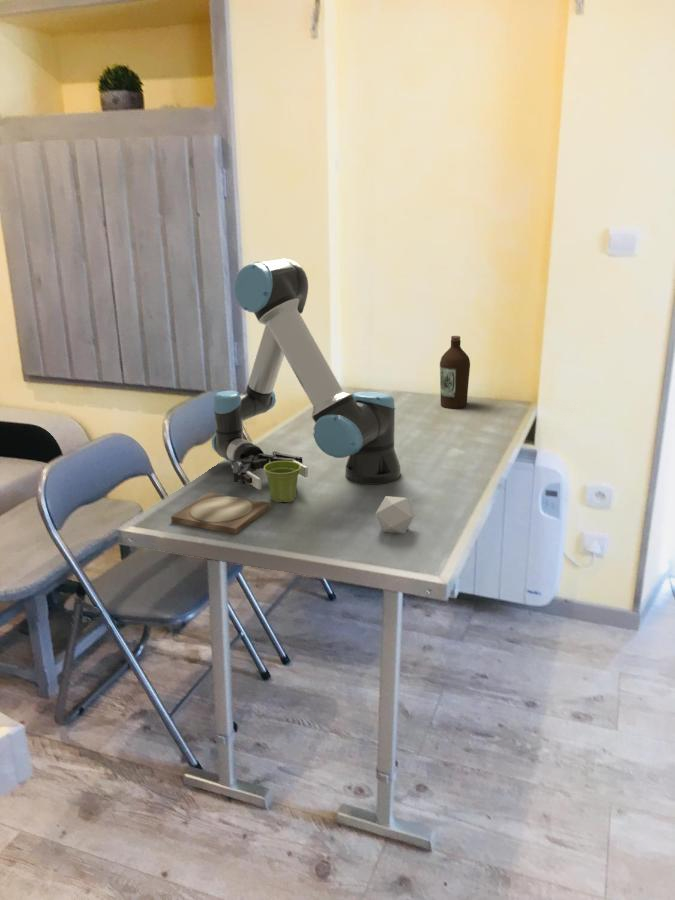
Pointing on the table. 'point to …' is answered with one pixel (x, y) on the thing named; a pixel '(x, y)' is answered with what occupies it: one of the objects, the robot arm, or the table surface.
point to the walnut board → (221, 513)
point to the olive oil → (454, 376)
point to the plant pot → (282, 479)
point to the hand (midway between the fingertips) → (283, 478)
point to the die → (395, 514)
